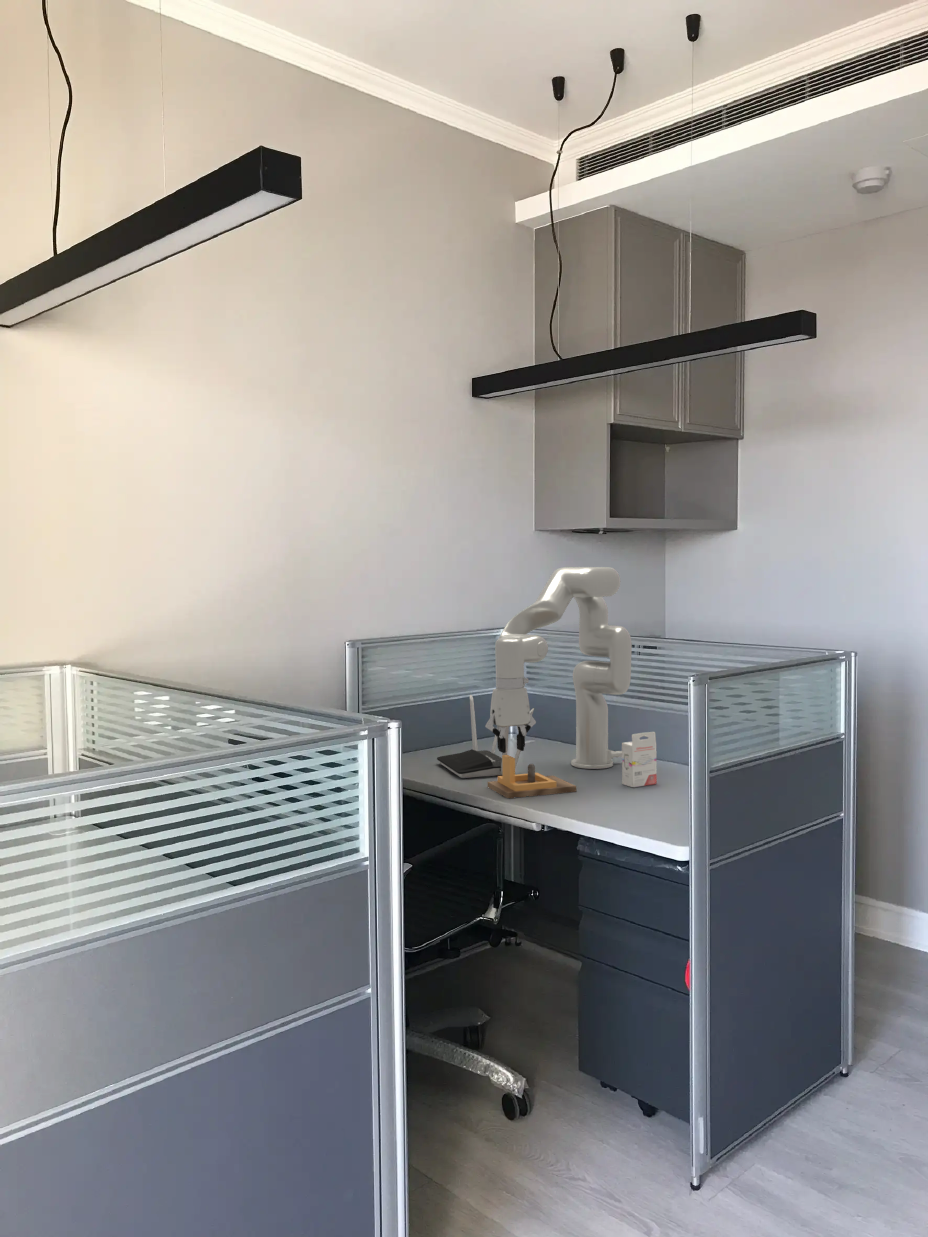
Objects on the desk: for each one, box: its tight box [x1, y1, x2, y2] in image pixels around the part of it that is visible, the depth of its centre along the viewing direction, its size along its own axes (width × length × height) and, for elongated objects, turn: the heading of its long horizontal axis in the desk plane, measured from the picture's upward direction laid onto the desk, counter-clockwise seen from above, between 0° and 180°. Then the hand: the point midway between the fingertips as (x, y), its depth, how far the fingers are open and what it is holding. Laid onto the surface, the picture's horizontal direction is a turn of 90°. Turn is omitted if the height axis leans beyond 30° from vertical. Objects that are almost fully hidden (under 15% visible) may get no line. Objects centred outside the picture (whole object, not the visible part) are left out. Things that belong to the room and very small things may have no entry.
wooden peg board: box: [487, 763, 577, 799], centre depth 267 cm, size 20×14×7 cm
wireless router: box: [436, 694, 535, 779], centre depth 293 cm, size 34×23×20 cm
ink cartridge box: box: [621, 731, 658, 788], centre depth 272 cm, size 9×5×15 cm, turn 117°
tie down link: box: [497, 754, 556, 791], centre depth 266 cm, size 12×12×8 cm
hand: (511, 750), depth 265 cm, fingers open, 4 cm apart
